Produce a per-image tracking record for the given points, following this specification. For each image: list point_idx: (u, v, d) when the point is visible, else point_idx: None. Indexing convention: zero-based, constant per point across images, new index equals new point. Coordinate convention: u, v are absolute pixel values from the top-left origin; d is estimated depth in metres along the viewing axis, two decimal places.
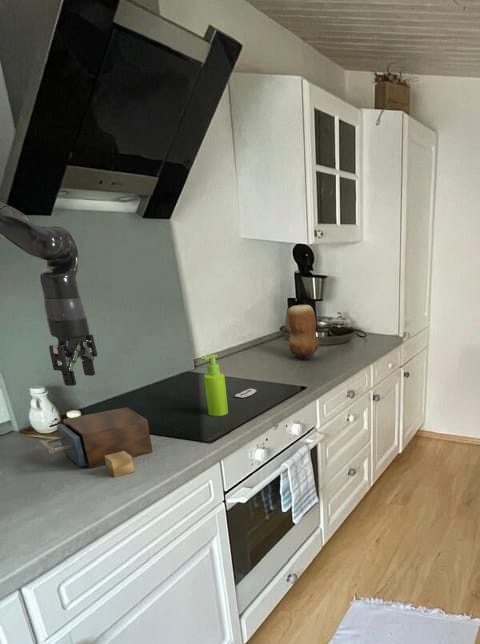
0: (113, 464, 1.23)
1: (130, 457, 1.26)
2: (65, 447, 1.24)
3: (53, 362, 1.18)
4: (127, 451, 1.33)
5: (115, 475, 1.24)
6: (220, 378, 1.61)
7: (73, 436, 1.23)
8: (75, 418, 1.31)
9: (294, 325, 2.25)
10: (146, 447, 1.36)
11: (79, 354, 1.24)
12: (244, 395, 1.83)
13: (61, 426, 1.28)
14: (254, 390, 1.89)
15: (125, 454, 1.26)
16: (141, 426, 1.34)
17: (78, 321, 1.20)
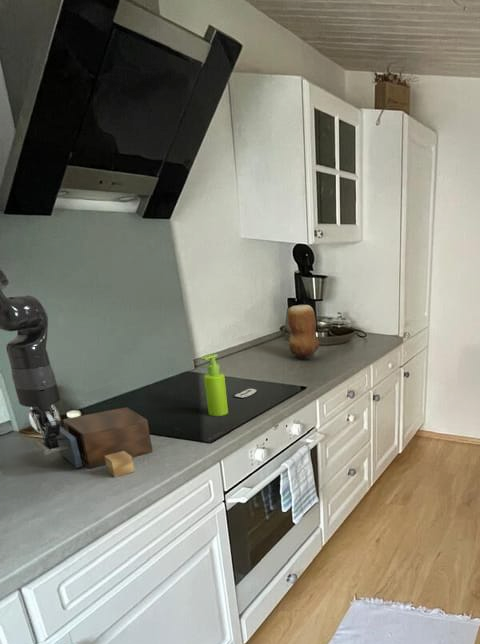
0: (113, 464, 1.23)
1: (130, 457, 1.26)
2: (61, 448, 1.23)
3: (48, 434, 1.20)
4: (127, 451, 1.33)
5: (115, 475, 1.24)
6: (220, 378, 1.61)
7: (69, 437, 1.23)
8: (75, 418, 1.31)
9: (294, 325, 2.25)
10: (146, 447, 1.36)
11: None
12: (244, 395, 1.83)
13: None
14: (254, 390, 1.89)
15: (125, 454, 1.26)
16: (141, 426, 1.34)
17: (56, 385, 1.20)
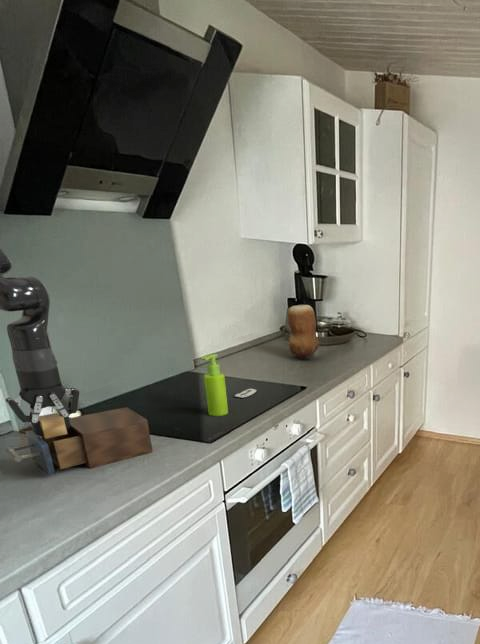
0: (42, 425, 1.20)
1: (62, 418, 1.23)
2: (33, 454, 1.19)
3: (15, 413, 1.17)
4: (127, 451, 1.33)
5: (46, 436, 1.21)
6: (220, 378, 1.61)
7: (41, 443, 1.19)
8: (75, 418, 1.31)
9: (294, 325, 2.25)
10: (146, 447, 1.36)
11: (46, 405, 1.20)
12: (244, 395, 1.83)
13: (30, 432, 1.23)
14: (254, 390, 1.89)
15: (57, 416, 1.23)
16: (141, 426, 1.34)
17: (32, 373, 1.14)
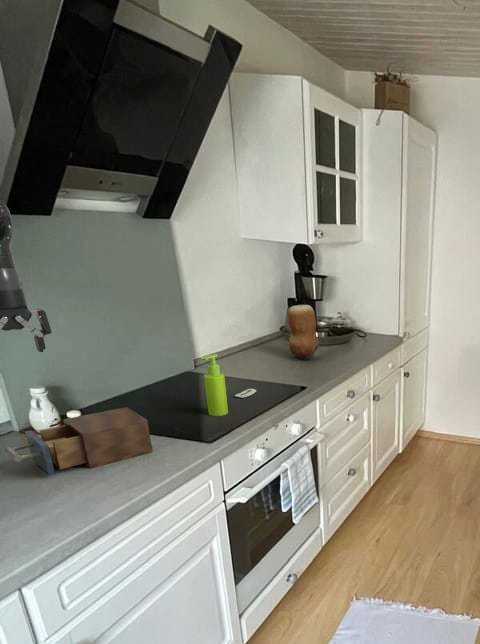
0: (51, 450, 1.22)
1: None
2: (32, 454, 1.19)
3: None
4: (127, 451, 1.33)
5: (54, 461, 1.24)
6: (220, 378, 1.61)
7: (41, 444, 1.19)
8: (75, 418, 1.31)
9: (294, 325, 2.25)
10: (146, 447, 1.36)
11: (12, 327, 1.20)
12: (244, 395, 1.83)
13: (29, 432, 1.23)
14: (254, 390, 1.89)
15: None
16: (141, 426, 1.34)
17: None
